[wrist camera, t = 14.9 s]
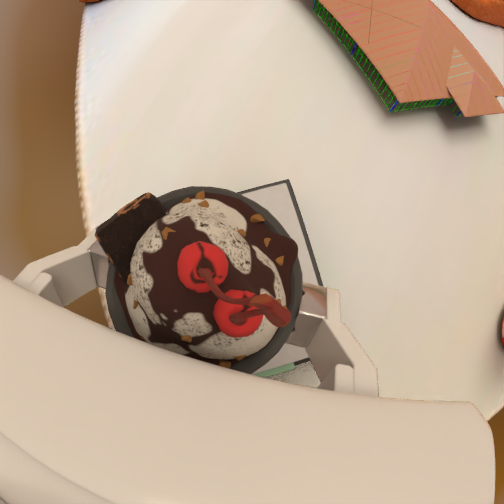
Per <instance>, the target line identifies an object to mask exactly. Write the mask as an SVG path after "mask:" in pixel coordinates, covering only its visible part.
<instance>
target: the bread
mask: <svg viewBox="0 0 504 504" xmlns="http://www.w3.org/2000/svg"><path fill="white" fill-rule="evenodd" d="M451 1H452V2H454V3H455V4H456V5H457V6H458V7H459V8H461V9H462V10H464V11H465V12H467V13H468V14H469V15H471V16H472V17H473V18H475V19H478V20H481V21H484V22H488V23H491V24H495V25H497V26H499V25H500V26H502V27H504V0H451Z"/></svg>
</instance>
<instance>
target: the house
mask: <svg viewBox="0 0 504 504" xmlns="http://www.w3.org/2000/svg"><path fill="white" fill-rule="evenodd" d="M317 1H318V2H317ZM316 2H317V3H318V4H317V9H315V4H316ZM320 3H321V6H320ZM322 5H323V8H322ZM319 6H320V11H321V8H322V9H323V14H322V18H321V17H320V11H319V15H318V14H317V10H318V9H319ZM325 9H327V12H326V11H325ZM313 10H314V12H315V13H316V14H317V15H318V16H319V17H320V18H321V19H322V20H323V15H324V11H325V12H326V13H327V14H328V11H329V12H330V13H331V14H332V15H333V17H334V19H336V20H337V23H336V22H335V21H334V19H332V18H331V14H330V15H329V14H328V15H329V16H330V18H331V19H332V20H333V22H335V23H336V27H337V25H338V22H339V23H340V24H341V25H342V27H343V28H344V30H342V28H341V25H340V26H339V25H338V26H339V31H338V34H337V35H336V34H335V30H336V27H335V30H334V32H333V31H332V26H333V22H332V26H331V28H330V27H329V26H328V25H329V22H330V18H329V22H328V25H327V24H326V23H325V22H326V18H327V14H326V18H325V21H324V20H323V22H324V23H325V24H326V25H327V26H328V27H329V28H330V30H331V31H332V32H333V33H334V34H335V36H336V37H337V38H338V35H339V32H340V28H341V30H342V31H343V33H342V36H341V39H339V38H338V39H339V41H340V42H341V40H342V37H343V34H344V33H345V32H344V31H345V30H346V31H347V32H348V33H349V35H350V36H351V39H352V38H353V41H351V39H350V38H349V37H348V33H347V35H346V33H345V35H346V39H347V37H348V38H349V39H350V41H349V44H350V42H352V44H354V43H353V42H354V41H355V44H354V47H353V49H352V52H351V53H350V50H351V47H352V44H351V47H350V49H349V50H348V47H349V44H348V47H347V48H346V47H345V42H346V39H345V41H344V44H343V43H342V42H341V43H342V44H343V46H344V47H345V48H346V49H347V51H348V52H349V53H350V55H351V56H352V55H357V56H358V55H362V57H361V59H360V62H361V60H362V58H363V57H364V56H363V55H365V54H366V56H367V59H366V58H365V57H364V58H365V60H366V61H365V64H366V62H368V61H367V60H368V58H369V60H370V61H371V64H370V63H369V62H368V63H369V65H370V66H369V68H368V70H367V72H366V73H365V72H364V71H363V68H364V66H365V64H364V66H363V68H361V66H360V65H359V64H360V62H359V64H358V62H357V61H356V58H357V56H356V58H354V57H353V56H352V57H353V59H354V60H355V61H356V63H357V64H358V65H359V67H360V68H361V69H362V71H363V72H364V74H365V75H366V77H367V78H368V76H367V73H368V71H369V69H370V67H371V68H372V66H371V65H372V64H373V65H374V66H375V69H373V68H372V69H373V73H374V71H375V70H376V69H377V70H378V72H379V74H377V73H376V71H375V73H376V74H377V78H379V79H380V77H379V75H381V76H382V77H383V80H385V82H386V83H387V86H389V88H390V89H391V92H393V94H394V96H395V97H396V98H397V101H395V100H394V96H392V95H391V92H389V91H388V89H387V86H385V84H384V83H383V80H381V79H380V80H381V83H380V85H381V84H382V83H383V84H384V86H385V89H387V91H388V92H389V95H391V96H392V99H393V100H394V102H395V103H394V105H393V106H392V108H391V109H390V110H389V108H388V105H389V104H390V102H391V101H392V99H391V100H390V102H389V103H388V105H386V103H385V101H386V100H387V98H388V97H389V95H388V96H387V98H386V99H385V101H384V100H383V99H382V97H381V96H382V94H383V93H384V91H385V89H384V91H383V92H382V94H381V95H380V94H379V93H378V89H379V87H380V85H379V87H378V88H377V89H376V88H375V86H374V84H375V82H376V80H377V78H376V80H375V82H374V83H372V82H371V81H370V79H371V77H372V75H373V73H372V75H371V77H370V79H369V78H368V79H369V81H370V82H371V84H372V85H373V87H374V88H375V90H376V91H377V93H378V94H379V96H380V98H381V99H382V101H383V102H384V104H385V105H386V107H387V109H388V110H389V112H395V111H402V110H409V109H416V108H423V107H432V106H441V105H450V104H451V103H452V102H453V101H454V100H455V102H456V104H457V106H458V107H459V108H460V110H461V111H460V112H459V113H458V114H457V115H456V114H455V115H456V116H464V117H471V116H480V115H489V114H499V113H504V110H503V108H502V107H501V105H500V103H499V102H498V100H497V98H496V97H497V96H504V88H503V86H502V84H501V83H500V81H499V80H498V79H497V77H496V76H495V74H494V73H493V71H492V70H491V69H490V67H489V66H488V65H487V63H486V62H485V60H484V59H483V58H482V57H481V55H480V54H479V53H478V51H477V50H476V49H475V48H474V47H473V45H472V44H471V43H470V42H469V41H468V39H467V38H466V37H465V36H464V35H463V34H462V32H461V31H460V30H459V29H458V28H457V27H456V26H455V25H454V24H453V23H452V21H451V20H450V19H449V18H448V17H447V16H446V15H445V14H444V13H443V12H442V11H441V10H440V9H439V8H438V7H437V6H436V5H435V4H434V3H433V2H431V1H430V0H314V4H313ZM315 10H316V11H315ZM357 44H358V45H357ZM356 46H359V48H357V47H356ZM355 48H357V49H358V51H357V53H356V54H353V53H354V50H355ZM360 49H362V51H363V52H364V53H365V54H364V53H363V52H362V53H361V51H360ZM359 51H360V53H361V54H359ZM446 98H448V99H449V98H451V100H452V99H453V100H452V101H451V100H450V101H451V102H450V101H449V102H450V103H449V102H448V103H449V104H448V103H447V104H445V103H446V101H447V100H448V99H447V100H446V101H445V102H444V103H443V104H441V103H442V102H443V101H444V100H445V99H446ZM434 99H435V101H434V102H433V103H432V104H431V105H430V106H428V105H429V104H430V103H431V102H432V100H434ZM437 99H438V101H439V100H440V99H441V100H440V101H439V102H438V101H436V100H437ZM424 100H427V101H428V100H431V101H430V102H429V103H428V104H427V105H426V106H424V105H425V104H426V102H427V101H426V102H425V103H424V104H423V105H422V106H421V107H419V106H420V104H421V103H422V102H423V101H424ZM415 101H417V102H416V103H415V104H414V106H415V105H416V104H417V103H418V101H421V103H420V104H419V105H418V106H417V107H415V108H413V107H414V106H413V107H412V108H409V107H410V106H411V104H412V103H413V102H415ZM406 102H407V103H408V102H411V104H410V105H409V106H408V107H407V109H403V108H404V107H405V106H406V105H407V103H406ZM435 102H436V103H437V105H436V103H435ZM397 103H401V104H400V105H399V107H400V106H401V105H402V103H406V104H405V105H404V106H403V108H402V109H400V110H398V109H399V107H398V108H397V109H396V110H394V111H392V110H393V109H394V107H395V106H396V105H397ZM434 103H435V104H434ZM433 104H434V105H433ZM457 106H456V107H457ZM450 107H451V105H450ZM456 107H455V108H456ZM451 108H452V107H451ZM455 108H454V109H455ZM454 109H452V110H453V112H454ZM461 112H462V114H463V115H462V114H461V115H459V114H460V113H461ZM454 113H455V112H454Z"/></svg>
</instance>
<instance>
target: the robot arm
mask: <svg viewBox="0 0 504 504" xmlns="http://www.w3.org/2000/svg"><path fill="white" fill-rule="evenodd" d="M97 227H98V226H97ZM97 227H96V228H97ZM96 228H95V229H94V230H93V231H92V232H91V233H90V234H89V235H88V236H87V237H86V238H85V239H84V240H83V241H82V242H81V243H80V244H79V245H78V246H77V247H75V246H73V247H70V248H68V249H65V250H63V251H60V252H57V253H55V254H52V255H49V256H47V257H44V258H42V259H39V260H37V261H34V262H32V263H29V264H28V265H27V266H26V267H25V268H24V269H23V270H22V271H21V273H20V274H19V275H18V276H17V277H16V278H15V279H14V280H13V281H11V280H10V279H8V278H6V277H4V276H2V275H1V274H0V504H494V494H495V453H494V441H493V435H492V431H491V428H490V426H489V425H488V423H487V421H486V420H485V418H484V417H483V415H482V414H481V413H480V411H479V410H478V409H477V407H476V406H475V405H474V404H473V403H471V402H465V401H425V400H408V399H395V398H384V397H379V389H378V374H377V368H376V367H375V365H374V364H373V363H372V361H371V360H370V358H369V357H368V355H367V354H366V353H365V351H364V350H363V348H362V347H361V345H360V344H359V343H358V341H357V340H356V338H355V337H354V336H353V334H352V333H351V331H350V330H349V329H348V327H347V326H346V324H345V323H341V307H340V292H339V290H336V289H332V288H328V287H323V286H319V285H315V284H311V283H307V282H303V288H302V301H301V303H300V304H299V307H298V311H297V314H296V317H295V321H294V322H295V326H294V328H293V330H292V332H291V334H290V336H289V338H288V340H287V341H286V342H285V343H287V344H291V345H294V346H298V347H302V348H306V349H305V350H306V352H307V354H308V356H309V358H310V360H311V363H312V365H313V367H314V369H315V371H316V373H317V375H318V378H319V380H320V382H321V384H320V385H319V386H318V387H317V388H313V387H308V386H302V385H297V384H292V383H287V382H282V381H278V380H273V379H269V378H264V377H260V376H256V375H252V374H248V373H244V372H240V371H236V370H232V369H228V368H225V367H221V366H218V365H214V364H211V363H207V362H204V361H200V360H197V359H194V358H191V357H187V356H184V355H181V354H178V353H175V352H172V351H169V350H166V349H163V348H160V347H157V346H155V345H152V344H149V343H146V342H144V341H141V340H138V339H136V338H133V337H130V336H128V335H125V334H123V333H120V332H118V331H115V330H113V329H110V328H107V327H105V326H103V325H101V324H98V323H96V322H94V321H91V320H89V319H87V318H84V317H82V316H80V315H78V314H76V313H73V312H71V311H69V310H67V309H65V308H64V307H65V306H66V305H67V304H70V303H71V302H73V301H75V300H76V299H78V298H79V297H81V296H83V295H85V294H86V293H88V292H90V291H91V290H93V289H95V288H97V286H98V287H101V288H104V289H106V281H107V273H108V268H109V264H110V260H109V259H108V257H107V256H106V254H105V252H104V251H103V249H102V247H101V246H100V244H99V242H98V241H97V239H96V237H95V232H96Z"/></svg>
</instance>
